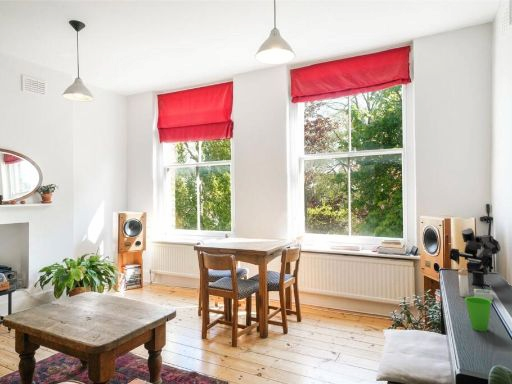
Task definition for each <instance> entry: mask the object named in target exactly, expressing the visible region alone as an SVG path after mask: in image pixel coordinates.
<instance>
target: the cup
mask: <svg viewBox="0 0 512 384" xmlns="http://www.w3.org/2000/svg"><path fill="white" fill-rule="evenodd" d="M464 302H465V304H466V308H467V313H468V317H469V320H470V321H469V322H470V325H471V328H472V329H473V330H475V331H478V330H479V331H480V332H486V331H488V329H489V324H490V323H489V322H490V314H491V306H492V304H493V301H491V300H489V299H485V298H480V297H474V296H469V297H464Z"/></svg>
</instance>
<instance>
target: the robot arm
mask: <svg viewBox="0 0 512 384" xmlns="http://www.w3.org/2000/svg"><path fill="white" fill-rule="evenodd" d="M461 236H462V240H463V243H465V247H464V252H463V251H462V252H461V251H460V249H459V248H450V251H449V259H450V260H451V261H454V262H455V263H456V264H457V265H458V266H459V265H460V262H461V261H460V257H461V258H464V260H467V262H466V270H467V271H468V274H471V279H472V280H471V285H473V286H484V287H485V286H486V281H485V276H486V275H488V274H489V269H488V267H491V265H492V260H493V256H492V255H497V254H498V253H499V252H500V251H501V245H500V242H499V241H498V240H497V239H495V238H494V236H493V235H490V234H489V235H487V234H484V235H475V232H474V230H473V229H472V228H471V227H469V228H468V227H467V229H466V228H465V229H463V230H461ZM481 249H482V251H481V252H480V253H479V254H478V251H479V250H481Z"/></svg>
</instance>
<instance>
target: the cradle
mask: <svg viewBox="0 0 512 384" xmlns="http://www.w3.org/2000/svg"><path fill="white" fill-rule="evenodd" d="M493 296H494V295H493V290H491V289H480V288H473V297H480V298H485V299H489V300H491V301H492V302H493V301H494V299H493Z"/></svg>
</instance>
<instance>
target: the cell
mask: <svg viewBox="0 0 512 384" xmlns="http://www.w3.org/2000/svg"><path fill="white" fill-rule="evenodd" d="M457 271H458V285H459V287H458V288H459V296H460V297H461V298H467V297H470V292H469V291H470V290H469V275H468V274H469V273H468V270H467V269H465V268H460V269H458V270H457Z"/></svg>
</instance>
